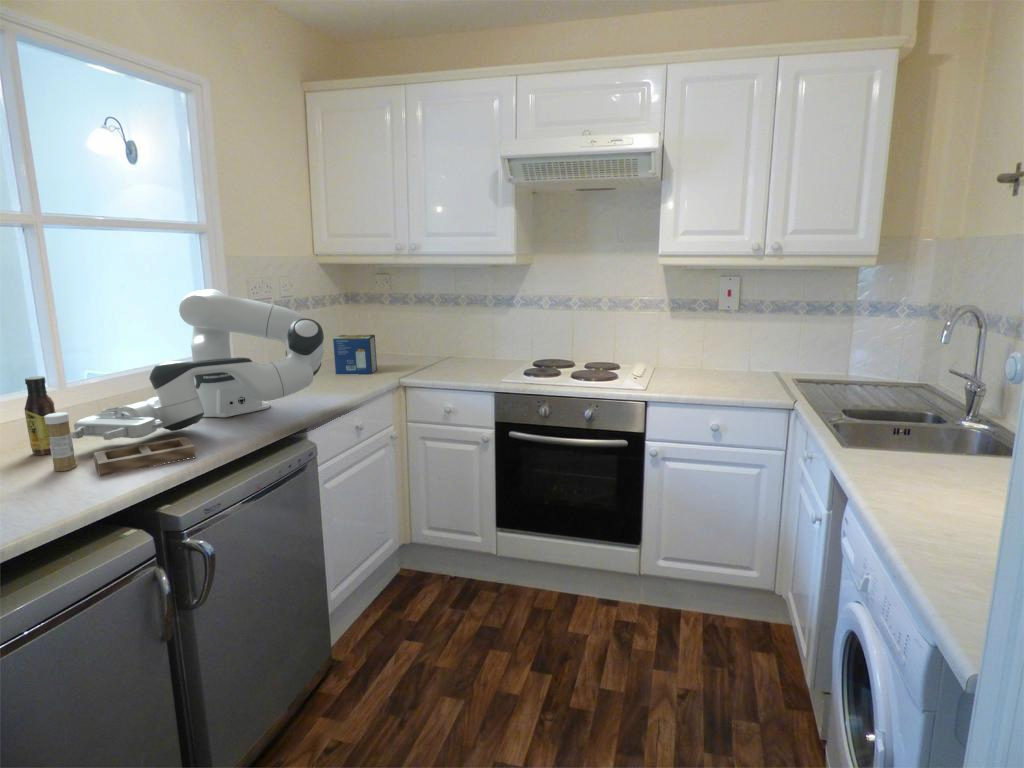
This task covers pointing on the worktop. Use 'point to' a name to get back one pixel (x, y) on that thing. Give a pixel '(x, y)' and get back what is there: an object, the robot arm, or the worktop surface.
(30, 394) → the sauce bottle
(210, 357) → the robot arm
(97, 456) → the spice caddy
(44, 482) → the worktop surface
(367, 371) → the protein box
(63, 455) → the sprinkles bottle
